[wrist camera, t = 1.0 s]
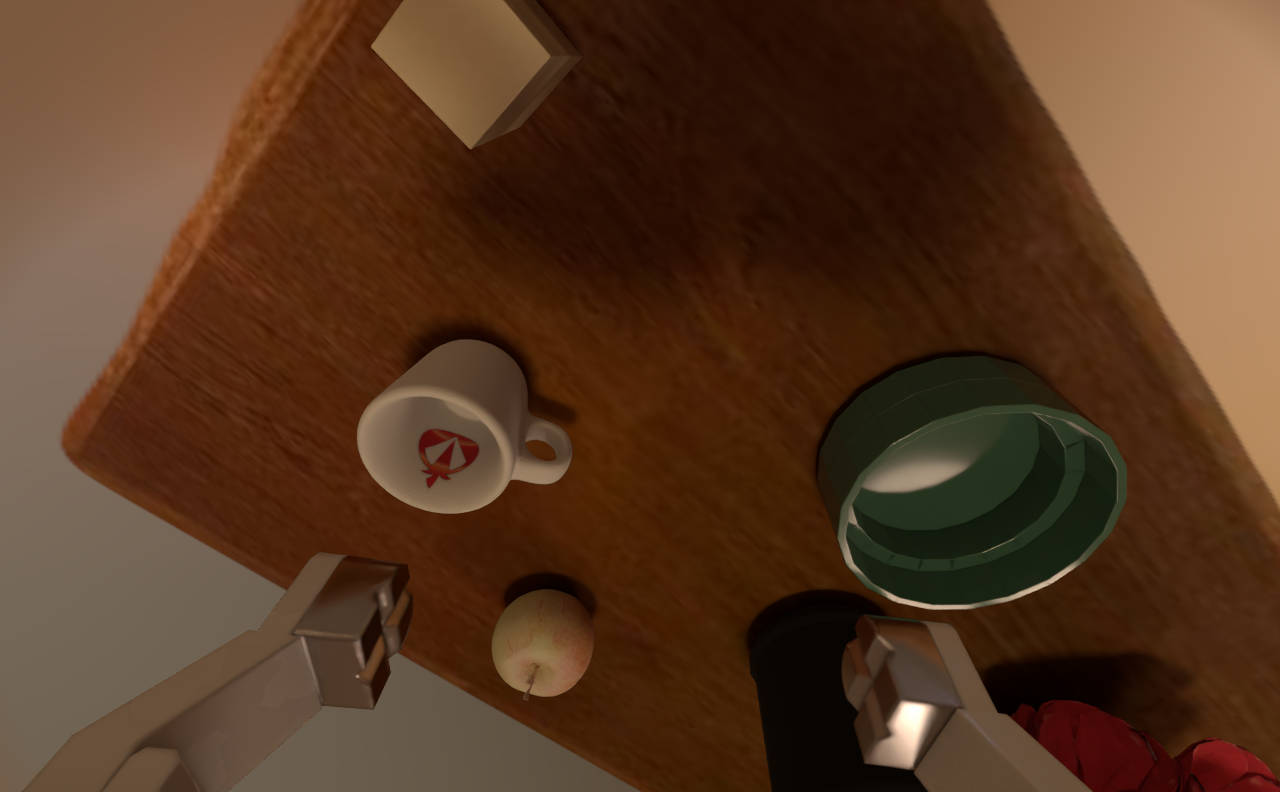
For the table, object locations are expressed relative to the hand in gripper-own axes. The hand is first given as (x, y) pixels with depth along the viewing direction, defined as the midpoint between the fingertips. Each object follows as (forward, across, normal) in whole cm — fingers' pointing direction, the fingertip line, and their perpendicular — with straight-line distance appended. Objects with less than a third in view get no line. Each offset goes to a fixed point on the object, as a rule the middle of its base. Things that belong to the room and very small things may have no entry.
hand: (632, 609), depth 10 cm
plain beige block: (+24, +8, -8) cm, 26 cm away
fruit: (+24, +5, +30) cm, 39 cm away
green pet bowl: (+24, -20, +12) cm, 33 cm away
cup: (+24, +9, +10) cm, 28 cm away
